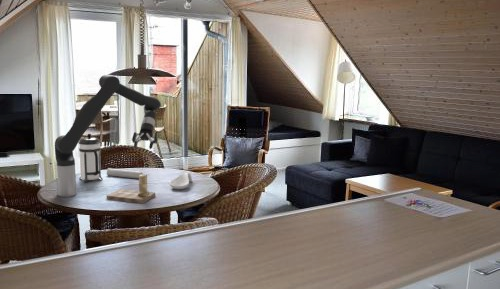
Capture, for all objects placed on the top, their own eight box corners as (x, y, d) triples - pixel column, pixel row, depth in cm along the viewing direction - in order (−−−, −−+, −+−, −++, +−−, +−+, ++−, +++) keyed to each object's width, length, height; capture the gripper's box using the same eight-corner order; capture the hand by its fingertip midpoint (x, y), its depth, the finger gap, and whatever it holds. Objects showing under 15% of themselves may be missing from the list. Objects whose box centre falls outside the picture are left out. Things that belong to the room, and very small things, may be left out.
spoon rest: (185, 192, 245) (185, 180, 244) (166, 190, 247) (166, 178, 246) (197, 182, 268) (197, 171, 267) (179, 180, 270) (179, 170, 269)
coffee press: (72, 182, 258) (70, 134, 253) (86, 176, 273) (85, 131, 268) (98, 184, 255) (96, 136, 250) (111, 178, 270) (109, 132, 265)
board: (106, 199, 227) (106, 195, 226) (120, 192, 240) (120, 188, 240) (142, 203, 221) (142, 199, 221) (155, 196, 235) (155, 192, 234)
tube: (145, 171, 275) (111, 168, 281) (141, 171, 270) (107, 167, 275) (143, 179, 274) (110, 176, 280) (140, 179, 269) (105, 175, 275)
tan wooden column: (137, 195, 227) (137, 176, 226) (140, 193, 232) (139, 174, 230) (146, 196, 227) (146, 176, 226) (148, 193, 232) (148, 174, 230)
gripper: (134, 121, 247) (129, 143, 238) (158, 122, 247) (153, 144, 238) (137, 129, 253) (131, 151, 244) (160, 130, 253) (156, 152, 244)
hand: (142, 148), depth 241 cm, fingers open, 8 cm apart
